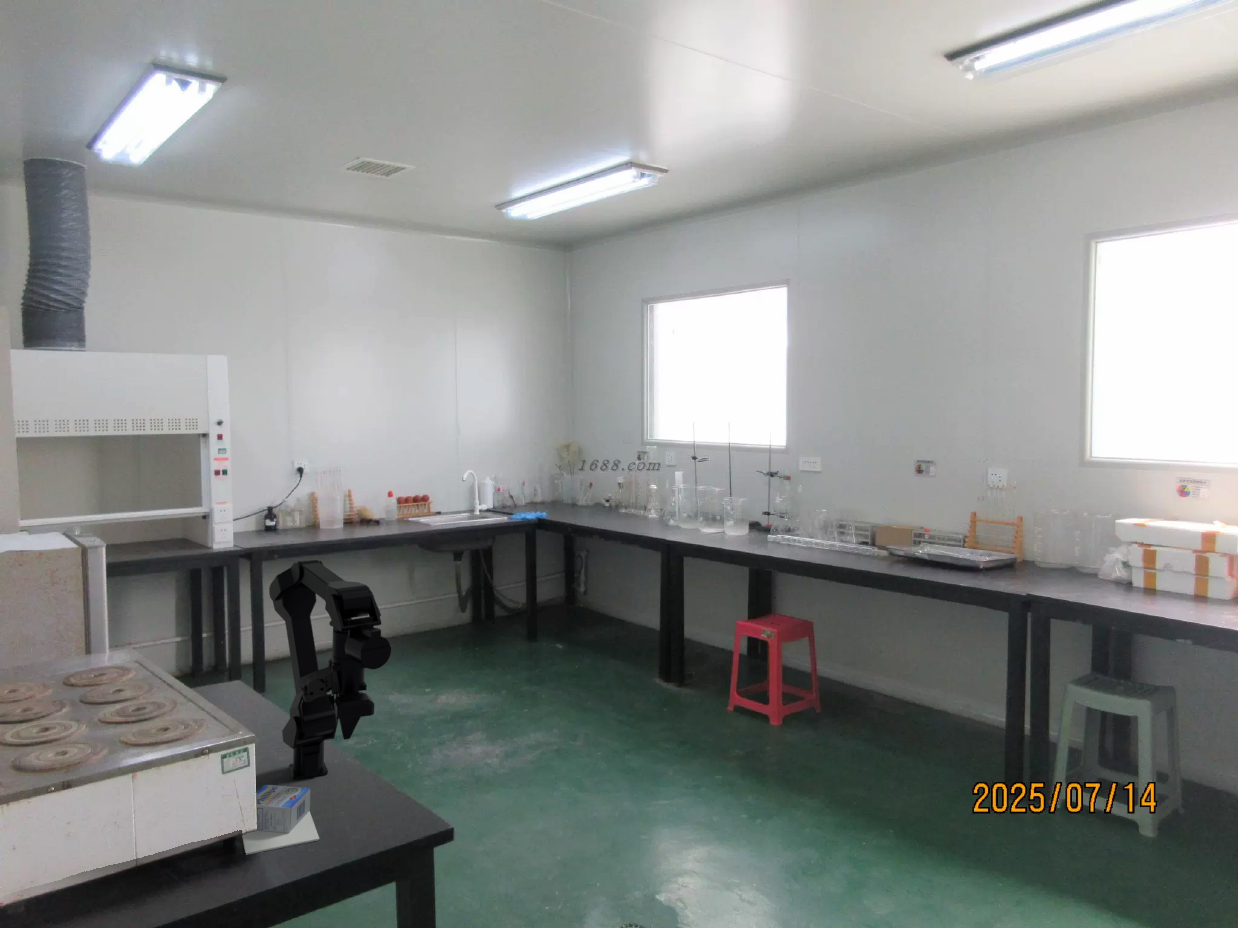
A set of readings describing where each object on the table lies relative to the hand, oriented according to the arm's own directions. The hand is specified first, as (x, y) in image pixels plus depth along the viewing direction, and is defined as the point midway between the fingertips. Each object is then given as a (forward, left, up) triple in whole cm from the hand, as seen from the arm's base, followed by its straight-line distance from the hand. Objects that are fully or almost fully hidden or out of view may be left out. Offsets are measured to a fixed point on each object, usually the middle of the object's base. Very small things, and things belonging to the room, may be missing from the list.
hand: (346, 738), depth 152 cm
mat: (+7, -12, -12) cm, 18 cm away
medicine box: (+6, -8, -9) cm, 14 cm away
